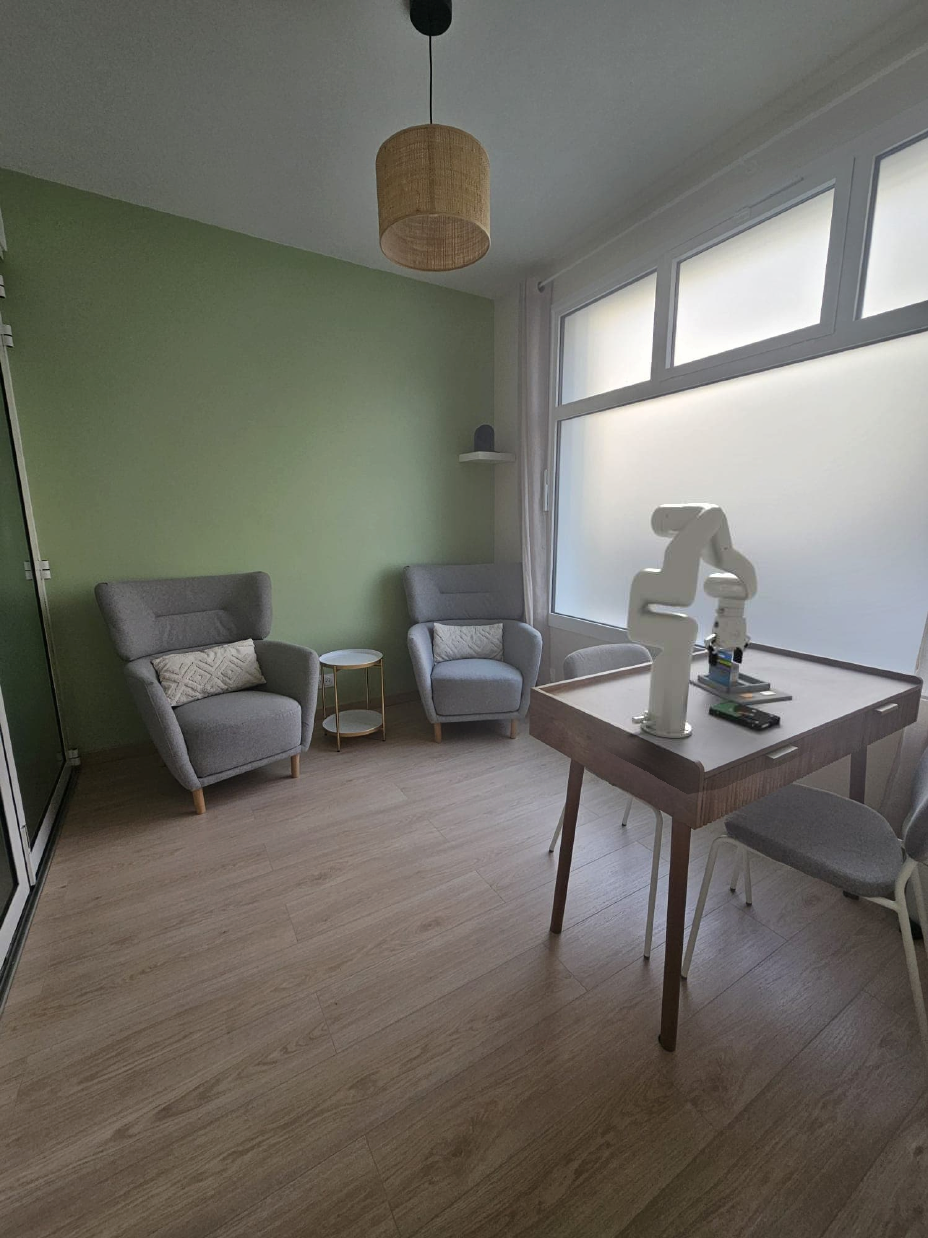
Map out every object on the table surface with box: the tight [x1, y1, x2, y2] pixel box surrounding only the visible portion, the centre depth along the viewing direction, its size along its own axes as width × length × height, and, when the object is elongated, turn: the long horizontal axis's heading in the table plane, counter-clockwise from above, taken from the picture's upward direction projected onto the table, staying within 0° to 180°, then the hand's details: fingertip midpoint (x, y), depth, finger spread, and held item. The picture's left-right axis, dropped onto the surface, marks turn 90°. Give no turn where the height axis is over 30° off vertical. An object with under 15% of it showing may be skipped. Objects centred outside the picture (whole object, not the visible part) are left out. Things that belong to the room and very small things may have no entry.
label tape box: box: [708, 649, 740, 687], centre depth 165 cm, size 9×4×12 cm, turn 20°
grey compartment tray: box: [689, 671, 793, 706], centre depth 165 cm, size 20×22×3 cm
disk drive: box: [708, 700, 781, 733], centre depth 142 cm, size 10×3×15 cm
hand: (724, 663), depth 165 cm, fingers open, 9 cm apart
